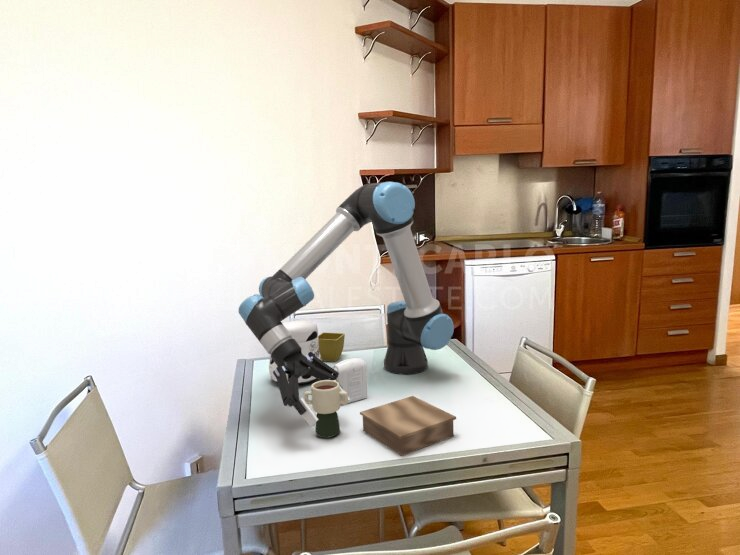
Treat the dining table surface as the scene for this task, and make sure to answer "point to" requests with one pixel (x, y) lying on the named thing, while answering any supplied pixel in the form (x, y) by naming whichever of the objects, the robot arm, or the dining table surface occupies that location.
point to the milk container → (301, 344)
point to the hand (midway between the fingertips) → (331, 412)
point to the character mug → (326, 406)
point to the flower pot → (331, 345)
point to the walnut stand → (407, 424)
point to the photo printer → (353, 378)
